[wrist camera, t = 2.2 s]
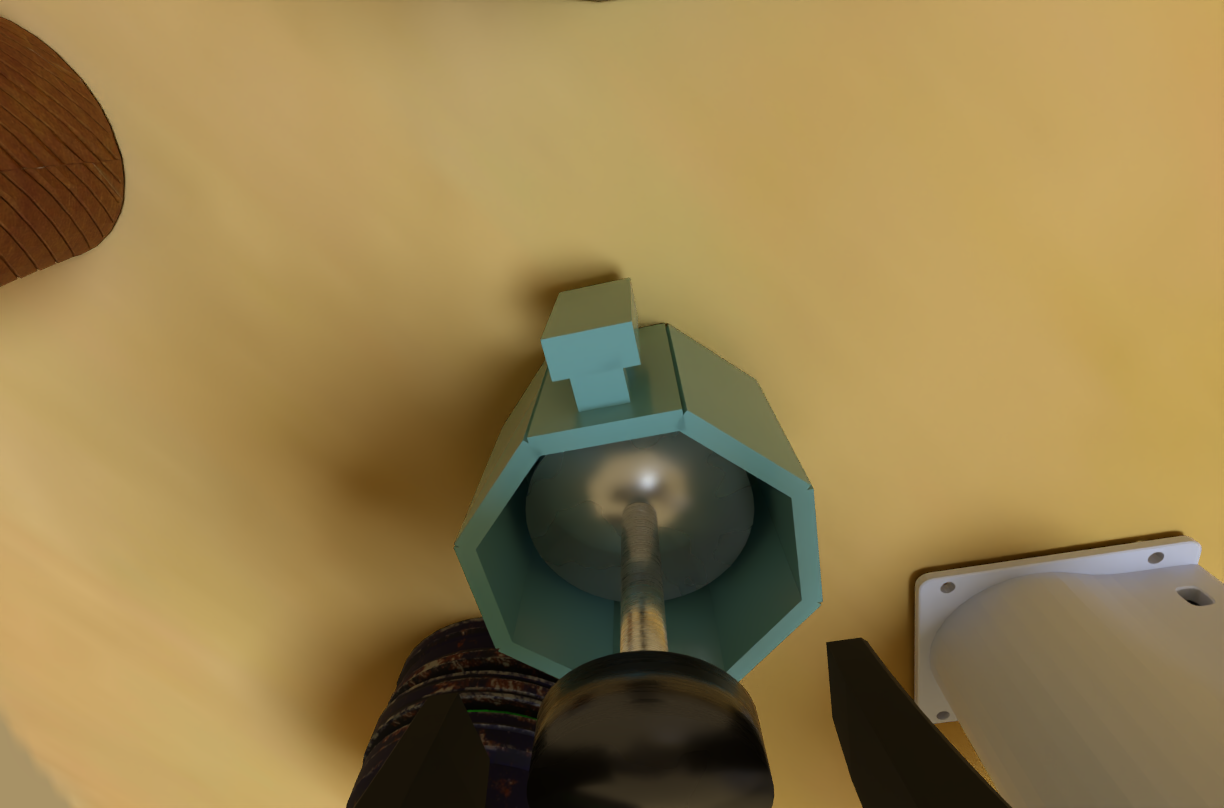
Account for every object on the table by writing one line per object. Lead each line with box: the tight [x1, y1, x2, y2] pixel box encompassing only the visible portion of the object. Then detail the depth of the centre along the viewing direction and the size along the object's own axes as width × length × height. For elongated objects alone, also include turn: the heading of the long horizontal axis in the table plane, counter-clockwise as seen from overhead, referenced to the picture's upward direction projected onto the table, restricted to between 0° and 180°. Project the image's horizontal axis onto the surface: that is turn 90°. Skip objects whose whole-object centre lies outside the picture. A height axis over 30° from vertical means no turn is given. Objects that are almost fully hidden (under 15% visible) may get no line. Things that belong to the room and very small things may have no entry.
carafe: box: [454, 278, 823, 682], centre depth 16 cm, size 8×10×6 cm
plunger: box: [526, 431, 774, 808], centre depth 13 cm, size 6×6×8 cm
